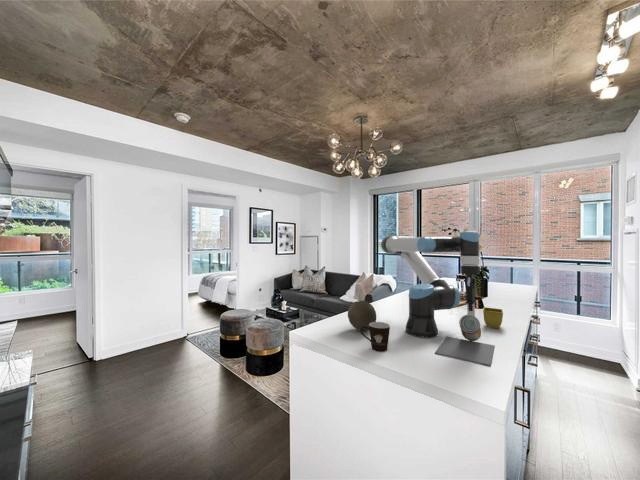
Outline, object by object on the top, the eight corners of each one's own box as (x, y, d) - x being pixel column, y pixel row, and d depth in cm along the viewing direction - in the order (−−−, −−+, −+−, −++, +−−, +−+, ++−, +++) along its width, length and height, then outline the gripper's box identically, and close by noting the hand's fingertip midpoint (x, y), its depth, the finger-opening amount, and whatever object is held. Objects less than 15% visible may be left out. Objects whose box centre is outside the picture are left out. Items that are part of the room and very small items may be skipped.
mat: (434, 353, 108) (434, 352, 108) (446, 337, 127) (446, 336, 127) (490, 366, 97) (490, 365, 97) (494, 346, 116) (494, 345, 116)
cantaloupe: (353, 325, 146) (353, 297, 146) (379, 328, 140) (379, 299, 140) (343, 333, 133) (343, 302, 133) (372, 337, 127) (372, 305, 127)
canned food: (477, 322, 125) (476, 313, 117) (484, 339, 121) (483, 331, 112) (459, 325, 128) (456, 316, 120) (465, 342, 123) (462, 334, 115)
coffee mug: (394, 348, 114) (393, 324, 114) (383, 354, 107) (382, 329, 108) (370, 341, 122) (370, 319, 122) (359, 346, 116) (359, 323, 116)
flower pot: (502, 325, 145) (502, 309, 145) (503, 330, 137) (503, 312, 137) (483, 323, 149) (483, 307, 149) (483, 327, 142) (483, 310, 142)
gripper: (477, 266, 115) (479, 322, 114) (480, 264, 126) (482, 315, 125) (458, 265, 119) (459, 319, 119) (462, 264, 130) (464, 313, 130)
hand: (471, 317), depth 122 cm, fingers closed
